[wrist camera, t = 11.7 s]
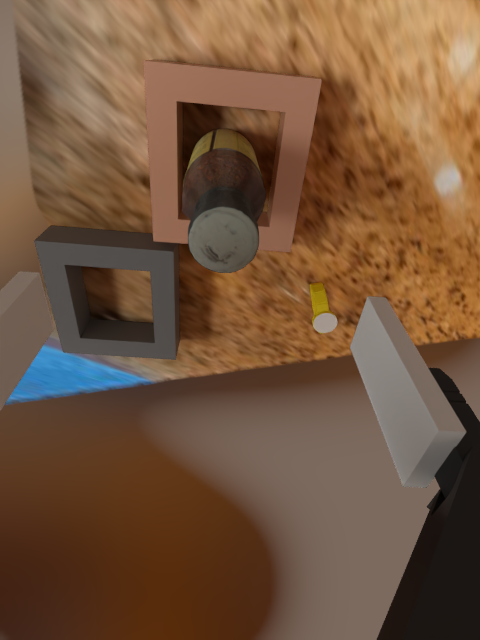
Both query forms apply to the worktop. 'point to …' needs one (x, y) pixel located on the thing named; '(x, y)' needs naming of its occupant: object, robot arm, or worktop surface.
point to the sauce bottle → (223, 201)
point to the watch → (321, 310)
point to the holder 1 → (119, 253)
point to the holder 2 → (235, 91)
